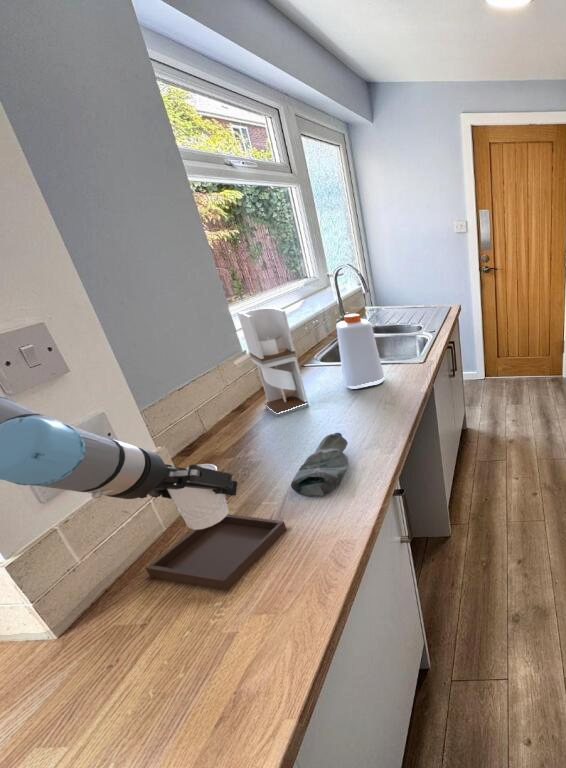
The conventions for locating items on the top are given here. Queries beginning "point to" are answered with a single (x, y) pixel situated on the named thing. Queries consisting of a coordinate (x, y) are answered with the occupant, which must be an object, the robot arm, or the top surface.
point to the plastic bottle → (358, 351)
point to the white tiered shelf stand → (274, 358)
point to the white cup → (200, 504)
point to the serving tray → (218, 552)
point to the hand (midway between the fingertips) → (211, 491)
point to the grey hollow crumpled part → (322, 468)
